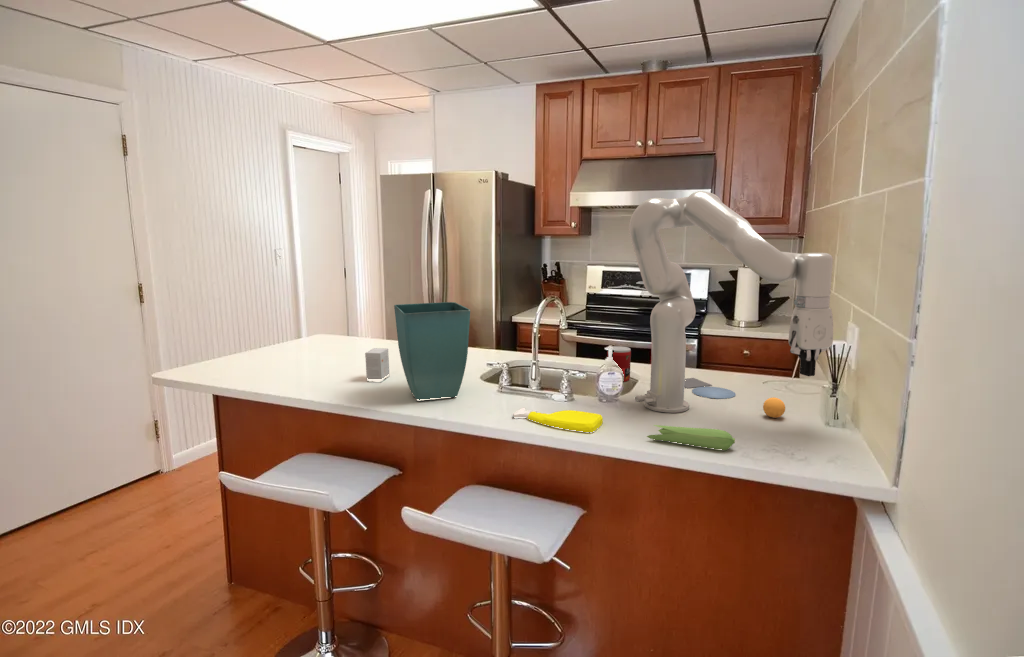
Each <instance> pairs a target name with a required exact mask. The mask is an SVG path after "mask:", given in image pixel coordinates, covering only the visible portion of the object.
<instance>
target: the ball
mask: <svg viewBox="0 0 1024 657" xmlns="http://www.w3.org/2000/svg"><path fill="white" fill-rule="evenodd" d="M762 410H763V411H764V413H765V414H766V416H767V417H770V418H772V419H773V418H774V419H775V418H780V417H781V416H783V415H784V414H785V412H786V405H785V403H784V401H783V400H781V399H780V398H778V397H769V398H767V399H765V401H764V402H763V405H762Z"/></svg>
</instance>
